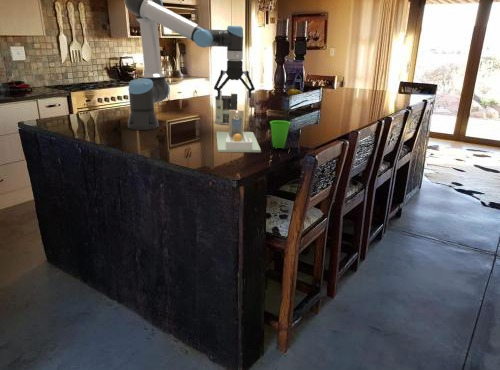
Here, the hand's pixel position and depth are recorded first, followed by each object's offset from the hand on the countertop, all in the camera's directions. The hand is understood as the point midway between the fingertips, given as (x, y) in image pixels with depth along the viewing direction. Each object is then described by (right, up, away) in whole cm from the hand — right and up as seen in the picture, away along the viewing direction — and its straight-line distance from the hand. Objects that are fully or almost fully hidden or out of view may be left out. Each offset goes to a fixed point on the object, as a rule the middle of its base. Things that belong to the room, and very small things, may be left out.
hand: (234, 104), depth 198 cm
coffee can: (-6, -6, +20) cm, 22 cm away
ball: (+3, -20, -23) cm, 31 cm away
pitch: (+2, -21, -18) cm, 28 cm away
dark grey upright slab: (+1, -14, -6) cm, 15 cm away
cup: (+21, -24, -24) cm, 40 cm away
